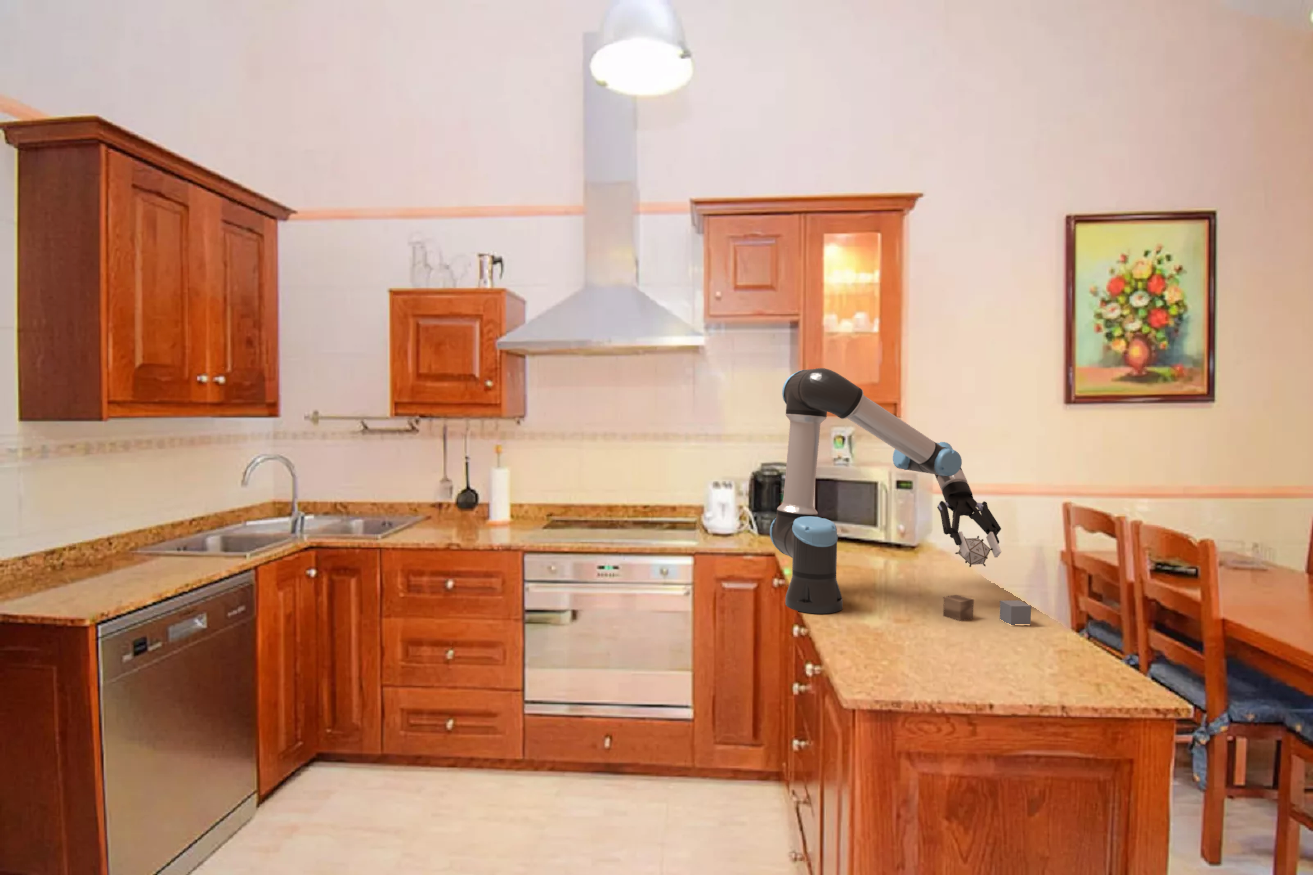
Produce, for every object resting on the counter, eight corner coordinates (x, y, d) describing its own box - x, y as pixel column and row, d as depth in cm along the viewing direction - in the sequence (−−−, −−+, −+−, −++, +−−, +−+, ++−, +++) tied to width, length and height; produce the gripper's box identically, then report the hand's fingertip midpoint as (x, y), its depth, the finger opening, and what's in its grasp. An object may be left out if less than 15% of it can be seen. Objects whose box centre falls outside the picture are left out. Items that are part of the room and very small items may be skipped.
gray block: (1010, 626, 168) (1011, 606, 167) (999, 620, 173) (1000, 600, 172) (1030, 626, 168) (1031, 606, 168) (1018, 619, 173) (1019, 600, 173)
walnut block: (960, 621, 171) (960, 602, 171) (943, 616, 176) (943, 597, 175) (973, 618, 174) (973, 599, 173) (956, 613, 178) (956, 594, 178)
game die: (980, 580, 184) (999, 556, 178) (949, 567, 186) (967, 542, 180) (980, 559, 191) (999, 535, 185) (951, 546, 193) (968, 522, 187)
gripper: (984, 496, 201) (1013, 562, 185) (915, 495, 200) (939, 562, 184) (994, 480, 195) (1026, 547, 180) (924, 479, 194) (949, 546, 179)
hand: (982, 554), depth 182 cm, fingers closed on game die, 8 cm apart
